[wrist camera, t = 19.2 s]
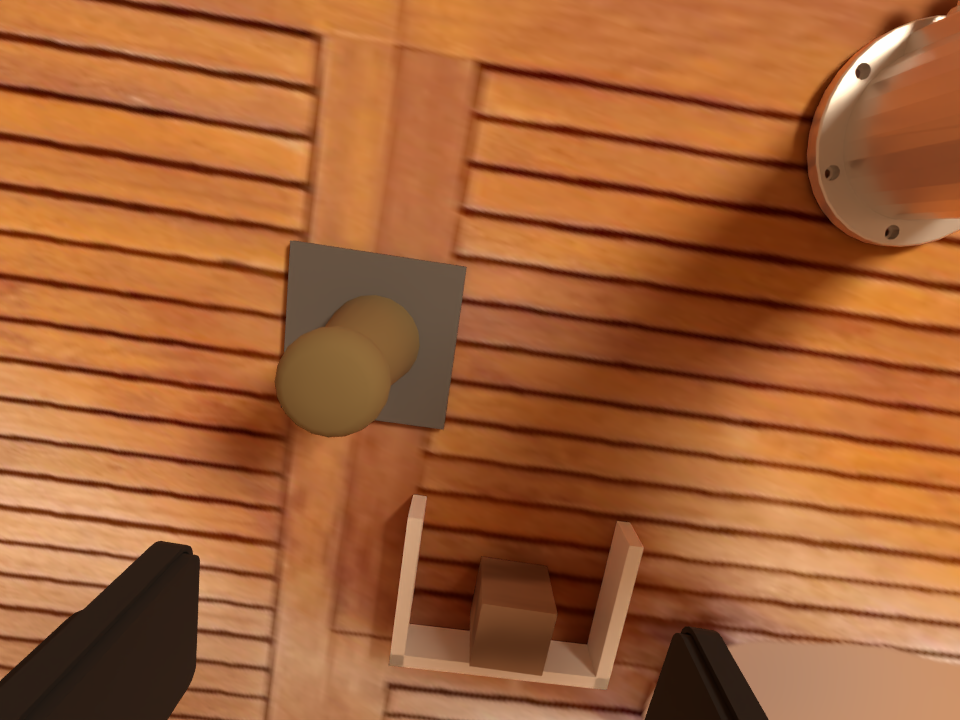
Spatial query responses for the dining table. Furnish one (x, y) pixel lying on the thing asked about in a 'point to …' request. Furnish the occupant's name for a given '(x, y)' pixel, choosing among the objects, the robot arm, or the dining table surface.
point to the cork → (347, 366)
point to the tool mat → (409, 282)
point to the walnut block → (511, 617)
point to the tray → (564, 658)
